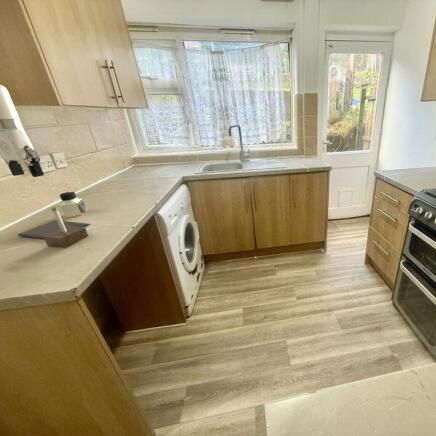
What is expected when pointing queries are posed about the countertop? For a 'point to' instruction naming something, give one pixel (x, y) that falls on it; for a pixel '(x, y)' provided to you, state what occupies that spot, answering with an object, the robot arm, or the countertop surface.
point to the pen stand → (65, 237)
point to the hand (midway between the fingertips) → (28, 175)
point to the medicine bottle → (72, 204)
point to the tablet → (49, 229)
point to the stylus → (59, 219)
